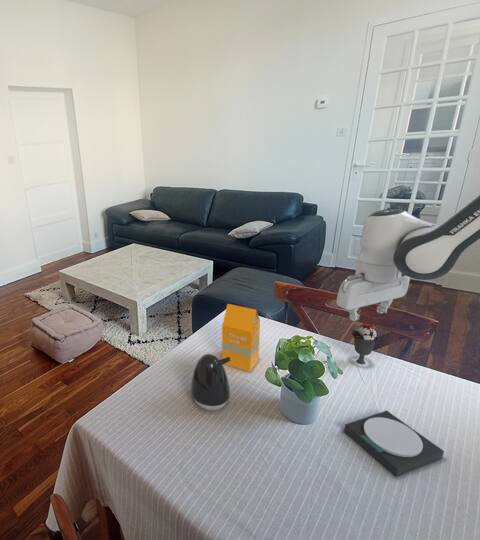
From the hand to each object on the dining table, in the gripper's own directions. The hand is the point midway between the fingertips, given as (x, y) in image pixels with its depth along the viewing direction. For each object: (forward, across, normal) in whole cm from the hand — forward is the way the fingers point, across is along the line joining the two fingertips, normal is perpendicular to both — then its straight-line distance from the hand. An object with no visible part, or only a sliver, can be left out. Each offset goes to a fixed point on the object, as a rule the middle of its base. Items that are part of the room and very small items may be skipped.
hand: (367, 316), depth 94 cm
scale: (+16, -19, -24) cm, 34 cm away
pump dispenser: (+17, -48, +2) cm, 51 cm away
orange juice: (+17, -31, +14) cm, 38 cm away
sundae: (+16, 0, 0) cm, 16 cm away
